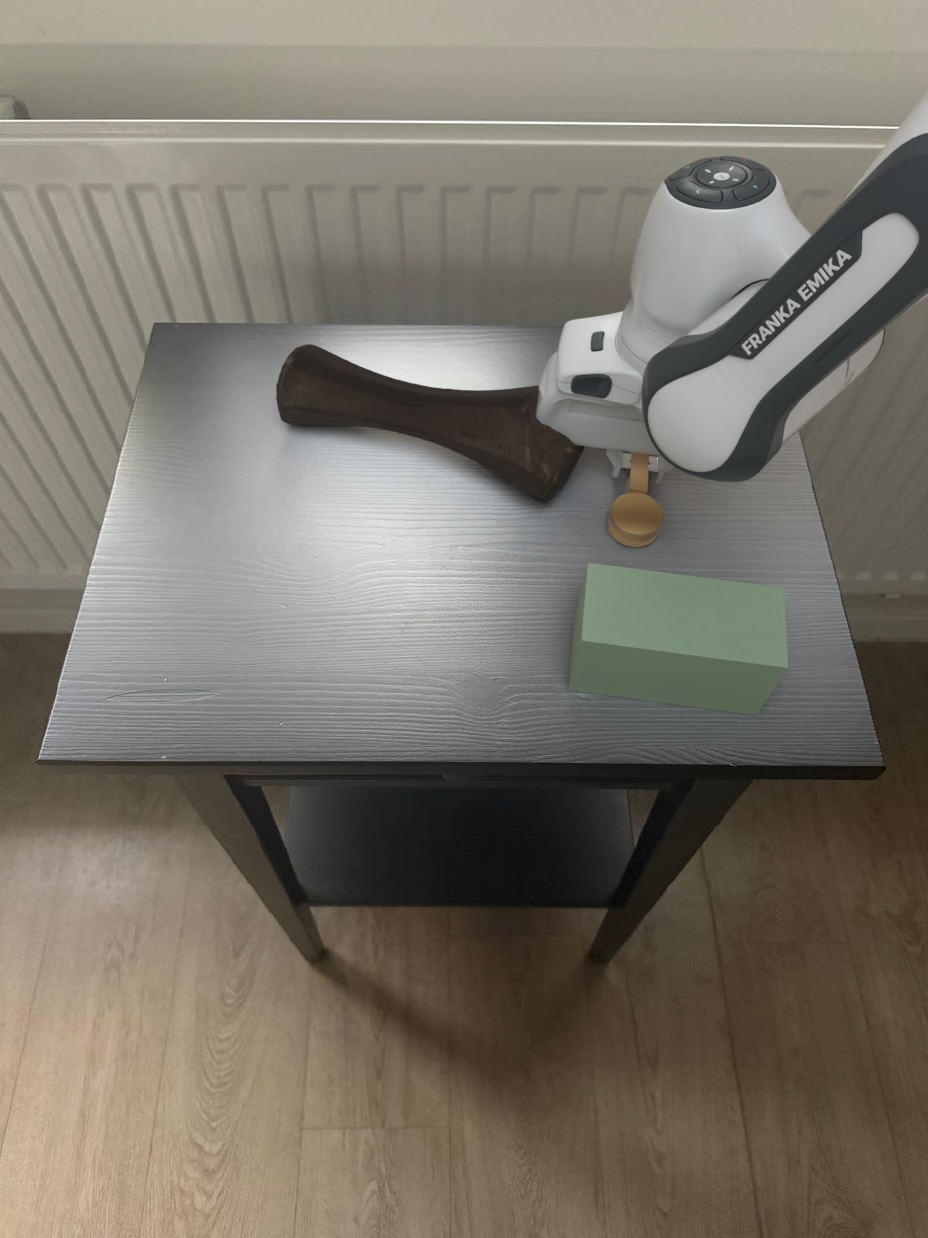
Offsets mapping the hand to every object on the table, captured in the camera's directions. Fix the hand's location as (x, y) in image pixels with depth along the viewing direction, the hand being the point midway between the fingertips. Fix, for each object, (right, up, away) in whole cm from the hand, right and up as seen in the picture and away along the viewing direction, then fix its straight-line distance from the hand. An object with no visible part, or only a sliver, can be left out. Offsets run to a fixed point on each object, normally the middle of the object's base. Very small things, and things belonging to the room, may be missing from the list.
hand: (636, 475), depth 86 cm
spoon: (0, -1, 0) cm, 1 cm away
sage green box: (0, -17, -9) cm, 19 cm away
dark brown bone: (-19, +2, +2) cm, 19 cm away
